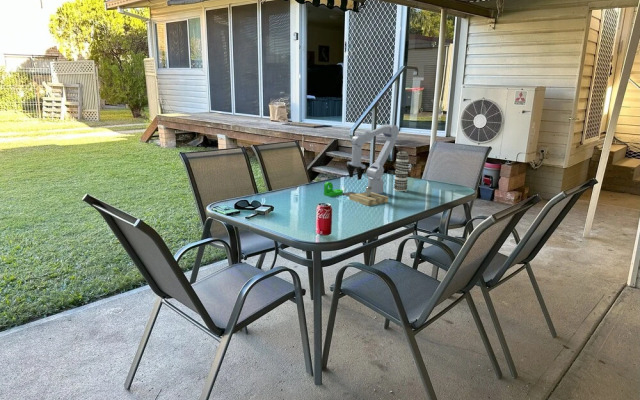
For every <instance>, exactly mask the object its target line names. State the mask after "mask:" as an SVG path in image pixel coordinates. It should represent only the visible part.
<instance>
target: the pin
mask: <svg viewBox="0 0 640 400" xmlns="http://www.w3.org/2000/svg"><path fill="white" fill-rule="evenodd" d="M371 189H372V187H369V186H368V185H366V186H365V191H366V196H367V197H371Z"/></svg>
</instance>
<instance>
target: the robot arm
mask: <svg viewBox="0 0 640 400" xmlns="http://www.w3.org/2000/svg"><path fill="white" fill-rule="evenodd" d="M399 133H400V130H399V127H398V126H397V125H396V124H387V123H385V124H382V125H381V126H379V127H377V128H375V129H374V130H372V131H369V130H365V131H364V132H363V133H359V134H358V135H353V136H352V137H351V139H350V144H351V147H352V148H351V149H352V150H351V161H347V162H346V169H347V173H348V176H349V178H353V177H354V172H355V171H354V170H355V168H356V173H357V180H362V177H363V175H364V172H365V173H366V176H367V178H368V181H367V182H368V183H367V186H369V187H372V189H371V192H373V193H376V194H384V193H385V191H384V179H383V175H384V171H385V168H384V165H385V163H386V162H387V160H388V158H389V156H390V154H391V152H392V150H393V148H394V146H395V144H396V143H397V139H398V138H397V137H398V135H399ZM381 134H382V135H383V136H384V139H385V140H386V141H385V143H384V145H383V146H382V148H381V150H380V152H379V154H378V156H377V158H376V159H375V162H374V163H372V164H370V165H369V167H367V169H366V164H363V163H362V150H363V146H364V144H366V143H368V142H369V141H372V140H373V138H374V137H377V136H380V135H381ZM364 192H366V190H365V191H364Z"/></svg>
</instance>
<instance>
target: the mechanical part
mask: <svg viewBox="0 0 640 400" xmlns="http://www.w3.org/2000/svg"><path fill="white" fill-rule="evenodd" d="M343 193H344V190H343V189H340V188H335V189H334V184H333V182H331V181H326V182H325V183H324V186H323V196H327V197H331V198H332V197H338V196H341V195H342V194H343Z"/></svg>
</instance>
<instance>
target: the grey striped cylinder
mask: <svg viewBox="0 0 640 400" xmlns="http://www.w3.org/2000/svg"><path fill="white" fill-rule="evenodd" d="M409 158H410V154H409V153H408V152H407V151H403V150H402V151H398V152H397V153H396V160H395V161H394V162H395V165H394V166H395V167H394V169H395V170H394V173H395V176H394V185H393V190H394V191H395V190H396V191H395V192H399V191H405V192H407V191H406V190H408V181H409V180H408V179H409V178H408V174H409V170H410V168H409V166H410V159H409Z"/></svg>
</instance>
